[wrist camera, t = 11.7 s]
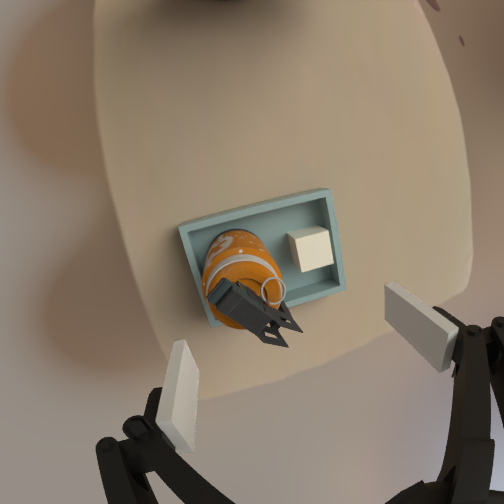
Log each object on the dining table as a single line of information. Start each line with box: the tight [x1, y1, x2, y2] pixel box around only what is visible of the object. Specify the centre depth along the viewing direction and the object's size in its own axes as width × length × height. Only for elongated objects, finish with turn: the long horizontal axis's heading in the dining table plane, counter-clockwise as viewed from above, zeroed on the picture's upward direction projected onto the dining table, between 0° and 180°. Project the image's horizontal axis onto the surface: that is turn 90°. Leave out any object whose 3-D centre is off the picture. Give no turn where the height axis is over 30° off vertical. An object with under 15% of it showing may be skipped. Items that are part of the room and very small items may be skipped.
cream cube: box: [287, 225, 334, 272], centre depth 41 cm, size 5×5×5 cm
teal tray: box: [178, 188, 346, 328], centre depth 41 cm, size 16×22×4 cm
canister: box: [202, 228, 303, 347], centre depth 33 cm, size 9×11×20 cm
